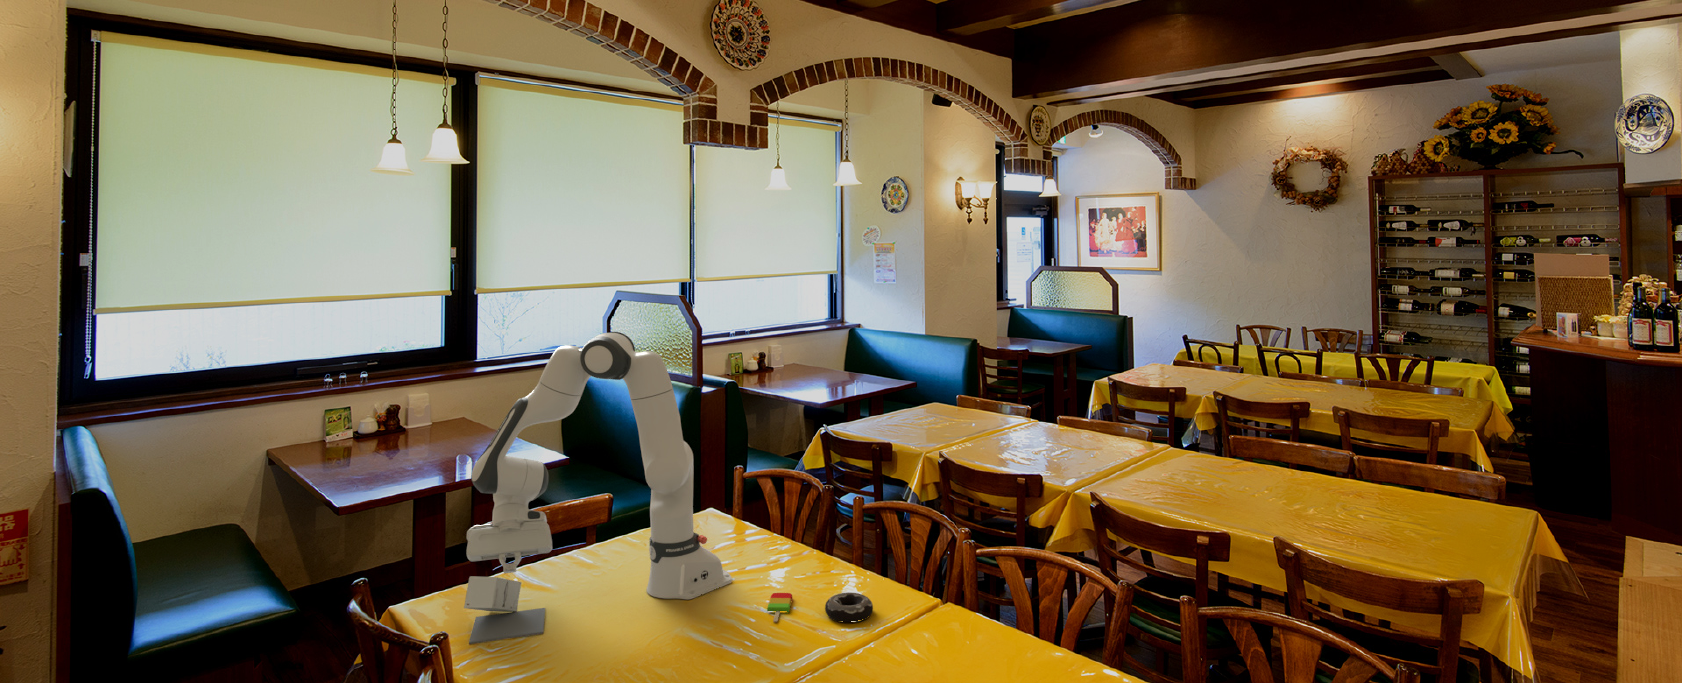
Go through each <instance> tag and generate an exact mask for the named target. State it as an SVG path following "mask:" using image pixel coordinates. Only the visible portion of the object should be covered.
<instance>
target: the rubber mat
mask: <svg viewBox="0 0 1682 683" xmlns="http://www.w3.org/2000/svg"><path fill="white" fill-rule="evenodd" d="M545 617H546V607H541V608H533V609H532V608H531V609H525V610H517V611H516V612H501V613H495V614H487V615H481V616H480V615H479V616H475V618H474V622H473V626H472V629H471V633H470V637H469V640H468V645H472V644H479V643H487V642H494V641H500V640H502V641H503V640H507V639H514V638H522V637H530V636H536V635H542V634H544V631H545V630H544V628H545Z"/></svg>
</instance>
